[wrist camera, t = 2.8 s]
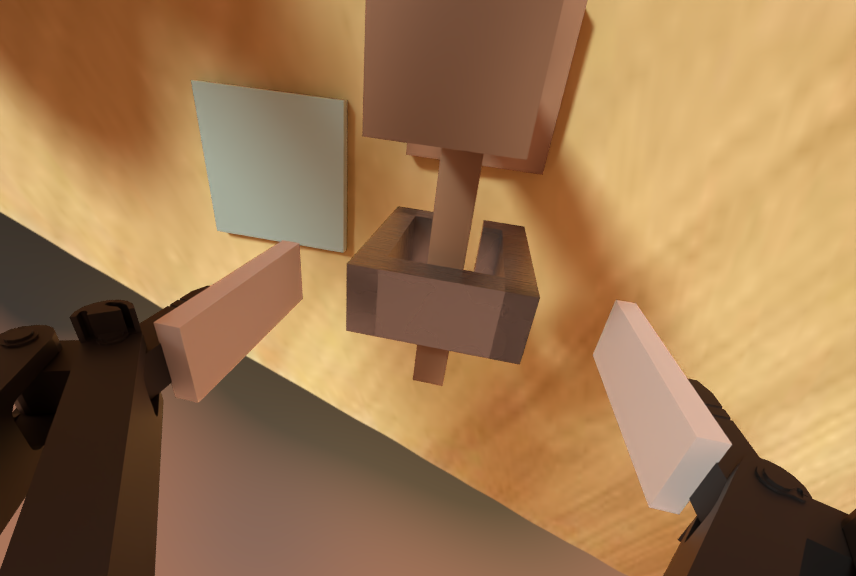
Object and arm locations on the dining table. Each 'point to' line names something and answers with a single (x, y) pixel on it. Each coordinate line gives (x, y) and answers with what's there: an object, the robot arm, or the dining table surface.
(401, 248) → the c link
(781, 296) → the dining table surface
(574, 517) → the dining table surface
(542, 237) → the dining table surface
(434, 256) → the stand
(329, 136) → the coaster
